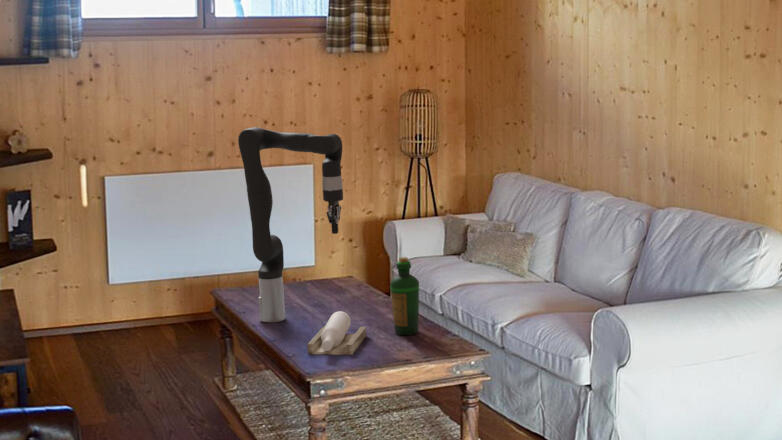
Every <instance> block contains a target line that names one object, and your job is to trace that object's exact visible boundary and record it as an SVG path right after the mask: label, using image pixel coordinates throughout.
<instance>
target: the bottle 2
mask: <svg viewBox="0 0 782 440" xmlns="http://www.w3.org/2000/svg"><path fill="white" fill-rule="evenodd" d="M395 268H396V269H397V273H398V274H396V276H394V277H393V278H392V280H391V281H390V283H389V288H390V297H391V308H392V316H393V318H392V319H393V326H394V332H395V334H397V335H398V336H413V335H416V334H418V332H419V325H420V324H419V314H420V313H419V309H420V296H419V295H420V281H419V280H418V279H417V277H415V276H414V275H412V274H410V272H411V269H412V265H411V261H410V260H408V257H406V256H404V257H403V256H401V257H399V258H398V261H397V262H396V267H395Z"/></svg>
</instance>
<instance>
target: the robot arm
mask: <svg viewBox="0 0 782 440" xmlns="http://www.w3.org/2000/svg"><path fill="white" fill-rule="evenodd" d="M237 139H238V140H237V141H238V142H237V143H238V148H239V153H240V156H241V161H242V164H243V171H244V177H245V184H246V193H247V195H246V196H247V200H248V205H249V214H250V222H251V232H252V233H251V235H252V236H251V237H252V251H253V254H254V257H255V258H256V259H257V260H258V261H260V262H261V265H260V267H259V269H258V272H257V273H258V275H257V276H258V287H259V297H258V299H257V300H258V301H257V302H258V312H259V313H258V314H259V322H264V323H279V322H282V321H285V319H286V312H285V311H286V310H285V309H286V308H285V295H284V294H285V293H284V281H283V277H284V276H283V270H284V265H285V263H284V245H283V243H282V240H281V238H280V237H279V236H277V235H275V234H271V229H270V228H271V227H270V223H271V222H270V220H271V216H272V210H273V202H274V201H273V194H272V193H273V191H272V186H271V183H270V180H269V178H268V176H267V174H266V172H265V170H264V168H263V165H262V161H261V151H262V150H267V149H283V150H287V151H290V152H297V153H298V152H299V153H313V154H319V155H324V156H325V157H324V160H323V162H322V165H321V173H322V175H321V176H322V179H321V180H322V181H321V182H322V184H321V186H322V200H323V201H324V202H327V203H328V204H327V205H328V206H327V207H326V208H327V211H326V216H327V220H328V223H329V224H330V225H331V234H332V235H334V234H335V235H337V234H338V233H339V222H340V220H341V210H342V207H341V205H340V204H339V203H340V202H341V201H344V191H343V190H344V188H343V187H344V186H343V179H342V167H341V166H342V165H341V162H342V156H343V141H342V139H341V137H340V136H339V135H338V134H336V133H330V134H327V135H315V134H313V133H309V132H308V133H306V132H305V133H304V132H284V131H283V132H282V131H281V132H280V131H275V130H270V129H266V128H261V127H258V126H256V127H255V126H253V127H249V128H245V129H243V130H242V131H241V132H240V133H239V135H238V138H237Z"/></svg>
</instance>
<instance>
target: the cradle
mask: <svg viewBox="0 0 782 440" xmlns="http://www.w3.org/2000/svg"><path fill="white" fill-rule="evenodd" d="M325 326H326V325H325ZM325 326H322V328H321V329H320V330H319V331H318V332H317V333H316V334H315V335H314V336H313V337H312V338H311V340H310V341H309V342H308V343H307V355H333V356H335V355H336V356H337V355H338V356H340V355H341V356H343V355H345V356H347V355H348V356H349V355H350V356H353V355H354V354H355V352H356V351H357V350H358V348H359V347H360V345H362V343H363V342H364V341H365V339H366V338H367V336H368V335H367V326H360V327H359V328H358V330H357V331H356V332H355V333H346V334H345V336H344V338H343V340H342V342H341V344H340V345H339V346H337V347H334V348H332V349H331V350H329V351H325V350H323V348H322V340H321V333H322V331H323V329H324V328H325Z"/></svg>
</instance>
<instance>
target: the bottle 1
mask: <svg viewBox="0 0 782 440" xmlns="http://www.w3.org/2000/svg"><path fill="white" fill-rule="evenodd" d="M329 317H330V318H329V319H328V321H327V323H326V324H325V328H324V329H323V331H322V333H321V340H322V348H323V350H325V351H329V350H331V349H332V348H334V347H337V346H339V345H340V344H341V342H342V340H343V338H344V336H345V334H347V332H348V330H349V328H350V326H351V322H352V321H351V317H350V316H349V314H348V313H346V312H344V311H341V310H339V311H335V312H333V314H331V316H329Z"/></svg>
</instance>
